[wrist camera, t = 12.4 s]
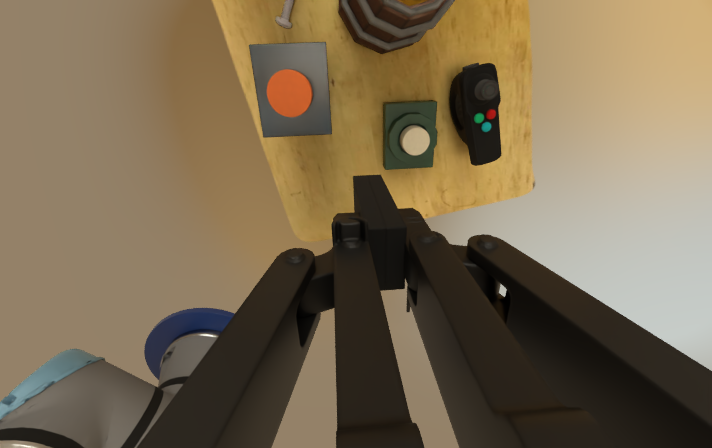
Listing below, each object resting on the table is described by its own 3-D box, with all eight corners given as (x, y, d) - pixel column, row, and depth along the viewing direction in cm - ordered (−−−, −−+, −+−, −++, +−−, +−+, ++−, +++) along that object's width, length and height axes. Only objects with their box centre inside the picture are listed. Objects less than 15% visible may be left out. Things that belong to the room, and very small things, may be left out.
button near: (314, 114, 28) (313, 116, 27) (273, 116, 28) (270, 118, 26) (310, 68, 26) (309, 68, 25) (266, 70, 26) (263, 70, 25)
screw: (275, 24, 40) (273, 21, 38) (287, -21, 38) (285, -26, 36) (291, 31, 40) (289, 29, 38) (303, -13, 38) (302, -18, 36)
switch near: (331, 114, 45) (331, 134, 30) (285, 116, 44) (263, 137, 30) (327, 53, 41) (325, 42, 27) (277, 54, 41) (248, 44, 27)
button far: (424, 151, 44) (429, 154, 42) (399, 152, 44) (402, 156, 42) (426, 124, 43) (430, 126, 41) (399, 125, 42) (403, 128, 41)
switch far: (428, 163, 49) (436, 170, 45) (383, 165, 48) (387, 173, 45) (432, 100, 45) (441, 102, 41) (383, 102, 44) (387, 105, 41)
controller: (469, 60, 43) (507, 57, 34) (480, 148, 48) (515, 165, 39) (438, 70, 43) (467, 70, 34) (453, 157, 48) (481, 176, 39)
